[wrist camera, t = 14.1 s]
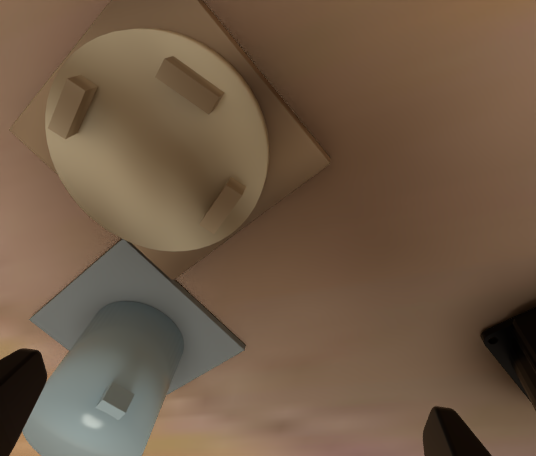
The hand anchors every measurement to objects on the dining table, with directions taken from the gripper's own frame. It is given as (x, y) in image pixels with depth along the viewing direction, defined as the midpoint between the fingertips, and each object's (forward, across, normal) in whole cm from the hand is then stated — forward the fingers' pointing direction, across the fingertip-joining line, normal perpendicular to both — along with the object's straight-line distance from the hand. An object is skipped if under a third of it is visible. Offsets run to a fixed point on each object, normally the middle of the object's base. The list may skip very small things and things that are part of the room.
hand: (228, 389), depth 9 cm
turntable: (+11, +6, -2) cm, 13 cm away
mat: (+12, +8, +11) cm, 19 cm away
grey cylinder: (+12, +9, +12) cm, 20 cm away
